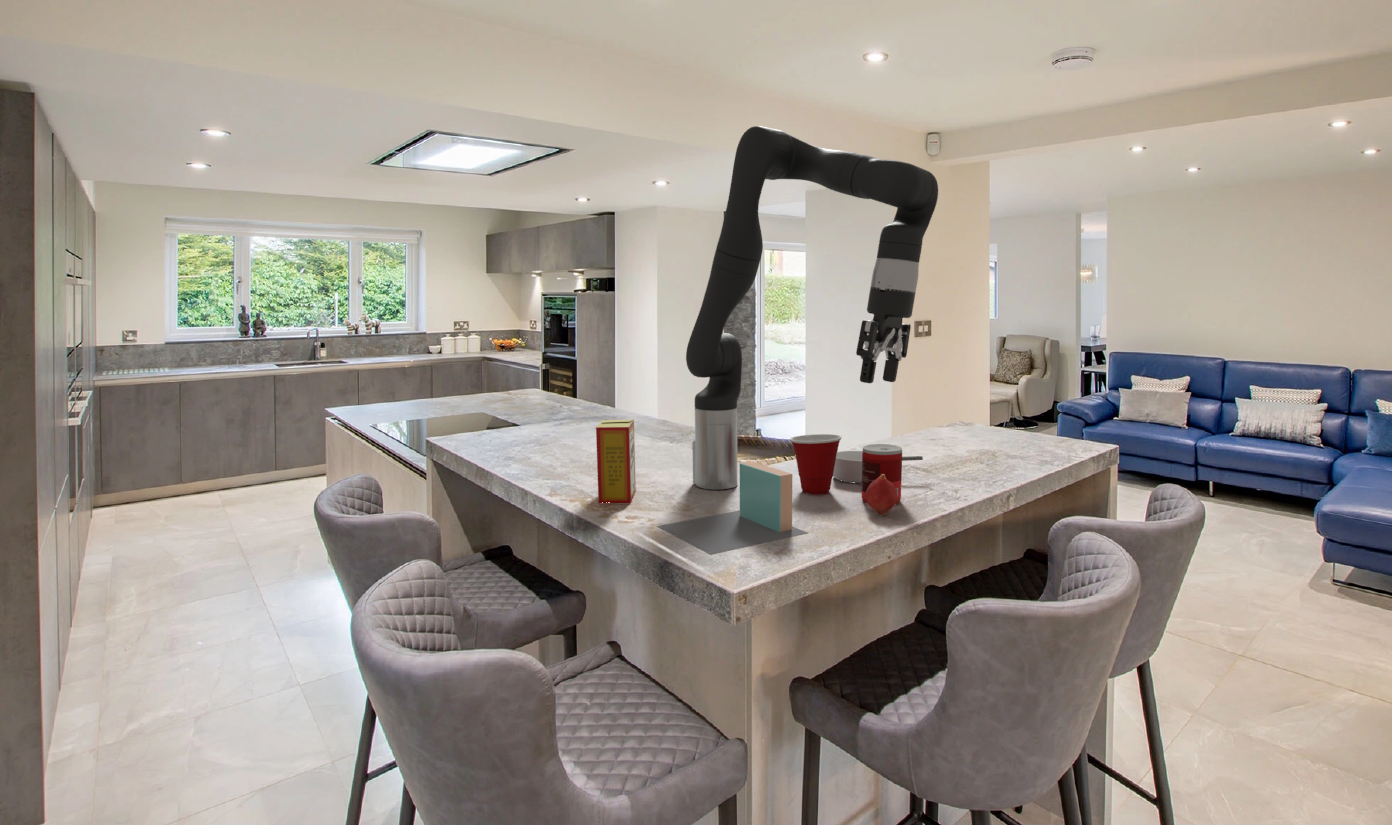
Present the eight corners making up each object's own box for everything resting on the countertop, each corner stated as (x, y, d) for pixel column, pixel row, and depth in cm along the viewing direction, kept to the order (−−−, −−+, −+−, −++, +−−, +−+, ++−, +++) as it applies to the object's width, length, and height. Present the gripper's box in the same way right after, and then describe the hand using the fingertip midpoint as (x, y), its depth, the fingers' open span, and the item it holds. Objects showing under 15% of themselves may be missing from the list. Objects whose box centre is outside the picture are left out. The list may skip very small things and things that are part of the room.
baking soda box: (630, 503, 151) (628, 425, 149) (598, 503, 151) (596, 425, 149) (635, 491, 160) (633, 417, 158) (605, 491, 160) (603, 418, 158)
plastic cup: (811, 482, 166) (812, 429, 164) (851, 491, 158) (852, 435, 156) (778, 491, 159) (778, 435, 157) (818, 501, 151) (819, 442, 149)
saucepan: (925, 487, 161) (926, 462, 160) (831, 485, 164) (831, 460, 163) (918, 475, 173) (918, 451, 172) (829, 473, 176) (830, 449, 175)
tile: (739, 515, 140) (739, 463, 138) (752, 513, 141) (751, 461, 140) (779, 532, 130) (779, 476, 128) (792, 529, 131) (792, 473, 130)
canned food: (903, 498, 152) (905, 445, 151) (896, 508, 145) (898, 452, 144) (866, 494, 156) (867, 442, 154) (857, 504, 148) (858, 449, 147)
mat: (656, 528, 134) (656, 525, 134) (748, 511, 144) (748, 508, 144) (710, 557, 119) (710, 554, 119) (808, 535, 129) (808, 532, 129)
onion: (858, 514, 141) (859, 473, 140) (877, 509, 145) (878, 468, 144) (884, 521, 137) (885, 478, 136) (903, 515, 140) (904, 473, 139)
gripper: (891, 288, 135) (876, 377, 137) (853, 282, 124) (838, 379, 127) (931, 293, 130) (915, 385, 133) (895, 286, 119) (878, 387, 122)
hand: (877, 382), depth 130 cm, fingers open, 8 cm apart
